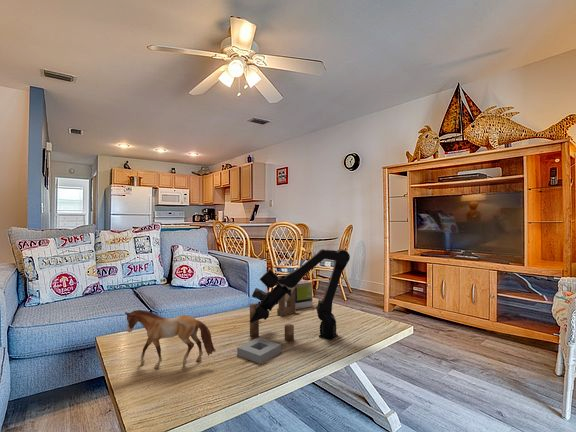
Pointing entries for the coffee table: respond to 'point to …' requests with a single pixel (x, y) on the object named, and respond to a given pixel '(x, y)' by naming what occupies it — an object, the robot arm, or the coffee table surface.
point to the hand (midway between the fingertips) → (251, 320)
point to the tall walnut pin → (254, 325)
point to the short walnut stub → (289, 332)
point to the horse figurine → (171, 332)
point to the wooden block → (290, 304)
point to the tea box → (303, 294)
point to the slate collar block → (259, 350)
